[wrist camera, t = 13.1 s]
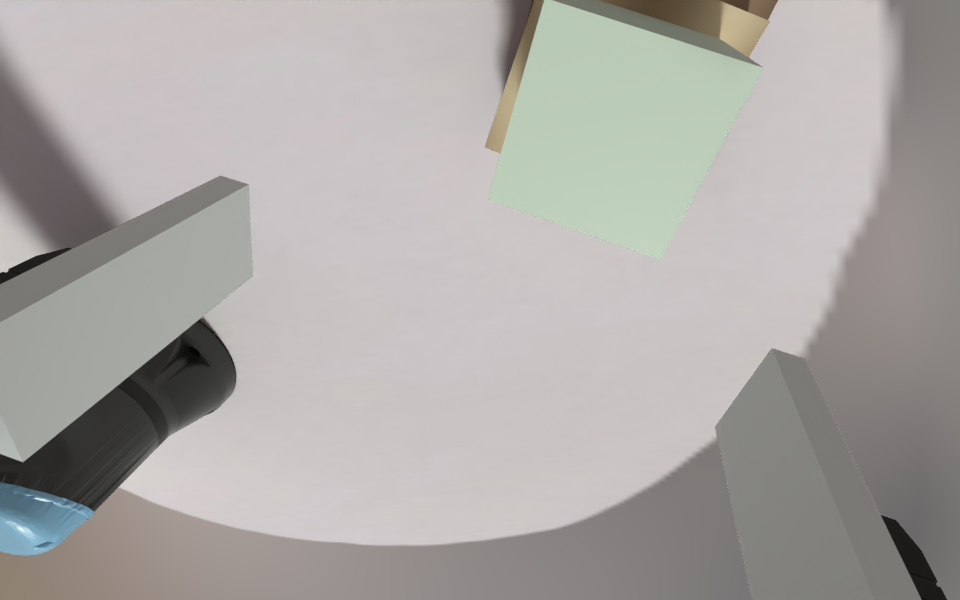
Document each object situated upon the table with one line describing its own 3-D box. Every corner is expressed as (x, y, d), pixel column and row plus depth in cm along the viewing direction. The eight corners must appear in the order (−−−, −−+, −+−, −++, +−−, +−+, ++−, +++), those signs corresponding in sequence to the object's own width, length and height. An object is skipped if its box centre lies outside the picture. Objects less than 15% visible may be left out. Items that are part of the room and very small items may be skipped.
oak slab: (502, 124, 32) (484, 146, 28) (567, -61, 26) (556, -67, 22) (650, 186, 32) (653, 217, 28) (747, 13, 26) (769, 21, 22)
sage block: (525, 139, 27) (487, 199, 20) (571, -9, 23) (544, -2, 16) (651, 181, 27) (659, 259, 19) (719, 38, 23) (763, 67, 15)
